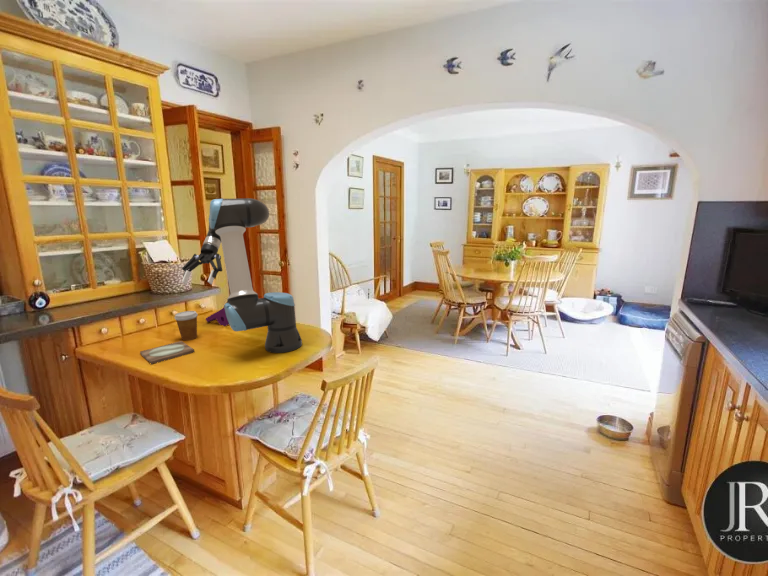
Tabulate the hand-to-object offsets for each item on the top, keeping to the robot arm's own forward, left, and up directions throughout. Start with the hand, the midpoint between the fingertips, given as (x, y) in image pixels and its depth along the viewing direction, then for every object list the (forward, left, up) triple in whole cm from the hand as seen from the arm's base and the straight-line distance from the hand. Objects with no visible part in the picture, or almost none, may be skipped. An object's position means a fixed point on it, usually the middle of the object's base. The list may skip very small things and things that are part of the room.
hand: (196, 283), depth 177 cm
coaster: (-19, +21, -24) cm, 37 cm away
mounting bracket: (+7, -12, -25) cm, 29 cm away
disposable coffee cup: (-6, +8, -24) cm, 26 cm away
